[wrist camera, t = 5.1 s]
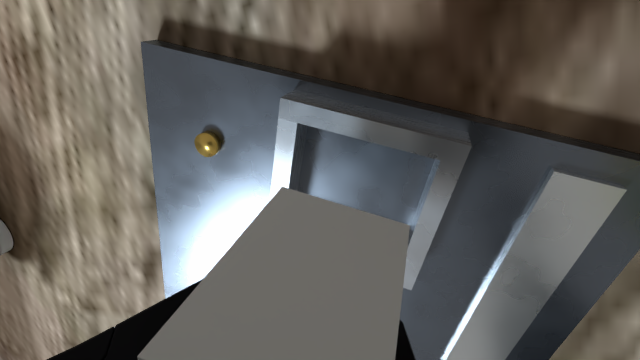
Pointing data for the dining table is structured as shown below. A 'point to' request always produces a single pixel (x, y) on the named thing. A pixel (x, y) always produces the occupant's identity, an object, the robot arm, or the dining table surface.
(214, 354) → the plug
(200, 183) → the panel
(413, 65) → the dining table surface
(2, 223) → the teapot
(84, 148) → the dining table surface
